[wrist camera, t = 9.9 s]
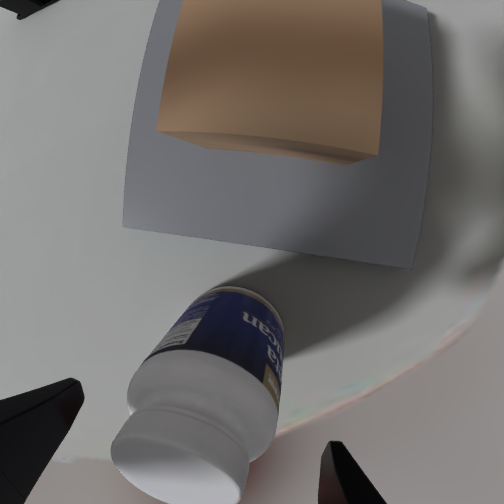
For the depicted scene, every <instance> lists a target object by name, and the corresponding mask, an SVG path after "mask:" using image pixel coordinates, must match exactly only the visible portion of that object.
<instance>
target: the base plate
mask: <svg viewBox="0 0 504 504" xmlns="http://www.w3.org/2000/svg"><path fill="white" fill-rule="evenodd" d="M182 2H183V0H160V1H159V4H158V7H157V10H156V14H155V17H154V20H153V24H152V27H151V31H150V35H149V39H148V43H147V47H146V51H145V55H144V59H143V64H142V68H141V73H140V78H139V83H138V88H137V93H136V99H135V104H134V110H133V117H132V123H131V131H130V138H129V146H128V155H127V165H126V176H125V188H124V204H123V227H125V228H133V229H140V230H147V231H154V232H161V233H168V234H175V235H182V236H189V237H196V238H203V239H210V240H217V241H224V242H231V243H238V244H244V245H251V246H258V247H265V248H272V249H278V250H285V251H292V252H299V253H305V254H312V255H319V256H325V257H332V258H339V259H345V260H352V261H358V262H365V263H371V264H378V265H384V266H391V267H397V268H404V269H410V270H412V266H413V262H414V257H415V253H416V248H417V244H418V239H419V234H420V228H421V223H422V217H423V211H424V205H425V199H426V192H427V184H428V176H429V167H430V156H431V143H432V125H433V70H432V53H431V41H430V31H429V23H428V16H427V9H426V8H425V7H423V6H420V5H417V4H414V3H411V2H408V1H405V0H381V3H382V20H383V96H382V115H381V129H380V140H379V151H378V156H375V157H371V158H368V159H365V160H361V161H358V162H355V163H352V164H348V165H345V166H344V165H338V164H333V163H327V162H321V161H314V160H308V159H301V158H294V157H287V156H279V155H271V154H262V153H253V152H243V151H232V150H220V149H206V148H203V147H200V146H198V145H195V144H192V143H189V142H186V141H184V140H181V139H178V138H175V137H172V136H169V135H166V134H163V133H160V132H157V131H156V127H157V120H158V114H159V107H160V101H161V95H162V89H163V84H164V79H165V73H166V68H167V63H168V59H169V54H170V49H171V45H172V41H173V37H174V32H175V28H176V24H177V21H178V17H179V13H180V9H181V6H182Z"/></svg>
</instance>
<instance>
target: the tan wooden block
mask: <svg viewBox="0 0 504 504" xmlns="http://www.w3.org/2000/svg"><path fill="white" fill-rule="evenodd" d="M382 96H383V20H382V3H381V0H183V2H182V6H181V9H180V13H179V17H178V21H177V24H176V28H175V32H174V37H173V41H172V45H171V49H170V54H169V59H168V63H167V68H166V73H165V79H164V84H163V89H162V95H161V101H160V107H159V114H158V120H157V127H156V131H157V132H160V133H163V134H166V135H169V136H172V137H175V138H178V139H181V140H184V141H186V142H189V143H192V144H195V145H198V146H200V147H203V148H206V149H220V150H232V151H243V152H253V153H262V154H271V155H279V156H287V157H294V158H301V159H308V160H314V161H321V162H327V163H333V164H338V165H344V166H345V165H348V164H352V163H355V162H358V161H361V160H365V159H368V158H371V157H375V156H378V151H379V140H380V129H381V115H382Z"/></svg>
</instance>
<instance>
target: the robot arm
mask: <svg viewBox="0 0 504 504" xmlns="http://www.w3.org/2000/svg"><path fill="white" fill-rule="evenodd" d="M56 1H58V0H0V7H2V8H5V9H8V10H10V11H13V12H15V13H18V15H17V19H18V20H21V19H23V18H25V17H27V16H29V15H30V14H32V13H34V12H36V11H38V10H40V9H42V8H44V7H46V6H48V5H50V4H52V3H54V2H56ZM84 398H85V397H84V393H83V389H82V385H81V383H80V381H78V380H76V379H74V378H67V379H65V380H62V381H59V382H56V383H53V384H50V385H47V386H44V387H41V388H38V389H35V390H32V391H28V392H25V393H22V394H19V395H16V396H12V397H9V398H6V399H2V400H0V504H24V503H25V501H26V499H27V497H28V495H29V494H30V492H31V490H32V489H33V487H34V485H35V484H36V482H37V481H38V479H39V477H40V476H41V474H42V472H43V471H44V469H45V467H46V466H47V464H48V463H49V461H50V460H51V458H52V456H53V455H54V453H55V452H56V450H57V449H58V447H59V445H60V444H61V442H62V441H63V439H64V438H65V436H66V435H67V433H68V431H69V430H70V428H71V426H72V424H73V422H74V420H75V418H76V416H77V414H78V412H79V410H80V408H81V406H82V404H83V402H84ZM318 504H387V503H386V502H385V501H384V499H383V498H382V496H381V495H380V494H379V492H378V491H377V490H376V488H375V487H374V486H373V484H372V483H371V482H370V480H369V479H368V477H367V476H366V475H365V473H364V472H363V471H362V469H361V468H360V466H359V465H358V464H357V462H356V461H355V460H354V458H353V457H352V456H351V454H350V453H349V451H348V450H347V449H346V447H345V446H344V444H343V443H342V442H341V441H329V442H328V444H327V446H326V448H325V450H324V452H323V454H322V457H321V467H320V479H319V490H318Z"/></svg>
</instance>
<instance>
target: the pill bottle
mask: <svg viewBox="0 0 504 504" xmlns="http://www.w3.org/2000/svg"><path fill="white" fill-rule="evenodd" d="M283 354H284V328H283V324H282V321H281V318H280V316H279V314H278V313H277V311H276V310H275V308H274V307H273V306H272V305H271V304H270V303H269V302H268V301H267V300H266V299H265V298H263V297H262V296H260V295H259V294H257V293H255V292H253V291H251V290H248V289H245V288H241V287H234V286H226V287H219V288H215V289H212V290H209V291H207V292H205V293H204V294H202V295H201V296H199V297H198V298H197V299H196V300H195V301H194V302H193V303H192V304H191V305H190V306H189V307H188V308H187V310H186V311H185V312H184V313H183V315H182V316H181V317H180V318H179V319H178V321H177V322H176V323H175V324H174V326H173V327H172V328H171V329H170V330H169V332H168V333H167V334H166V335H165V336H164V338H163V339H162V340H161V341H160V343H159V344H158V345H157V346H156V348H155V349H154V350H153V351H152V352H151V354H150V355H149V356H148V357H147V358H146V359H145V361H144V362H143V363H142V364H141V366H140V367H139V369H138V370H137V371H136V373H135V374H134V376H133V377H132V379H131V381H130V384H129V388H128V392H127V402H128V408H129V412H130V415H131V416H130V417H129V419H128V420H127V421H126V423H125V424H124V426H123V427H122V429H121V430H120V431H119V433H118V435H117V436H116V438H115V439H114V441H113V442H112V445H111V457H112V460H113V462H114V464H115V465H116V467H117V469H118V470H119V471H120V472H121V473H122V475H123V476H124V477H125V478H127V479H128V480H129V481H130V482H131V483H132V484H133V485H135V486H136V487H138V488H139V489H141V490H142V491H144V492H145V493H147V494H149V495H151V496H153V497H155V498H157V499H159V500H161V501H164V502H166V503H168V504H237V503H238V502H239V501H240V499H241V498H242V496H243V492H244V487H245V483H246V479H247V476H248V471H249V462H251V461H253V460H255V459H256V458H258V457H259V456H260V455H261V454H263V453H264V452H265V451H266V450H267V448H268V447H269V446H270V444H271V442H272V441H273V438H274V436H275V432H276V427H277V421H278V413H279V402H280V394H281V384H282V380H281V379H282V367H283Z"/></svg>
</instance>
